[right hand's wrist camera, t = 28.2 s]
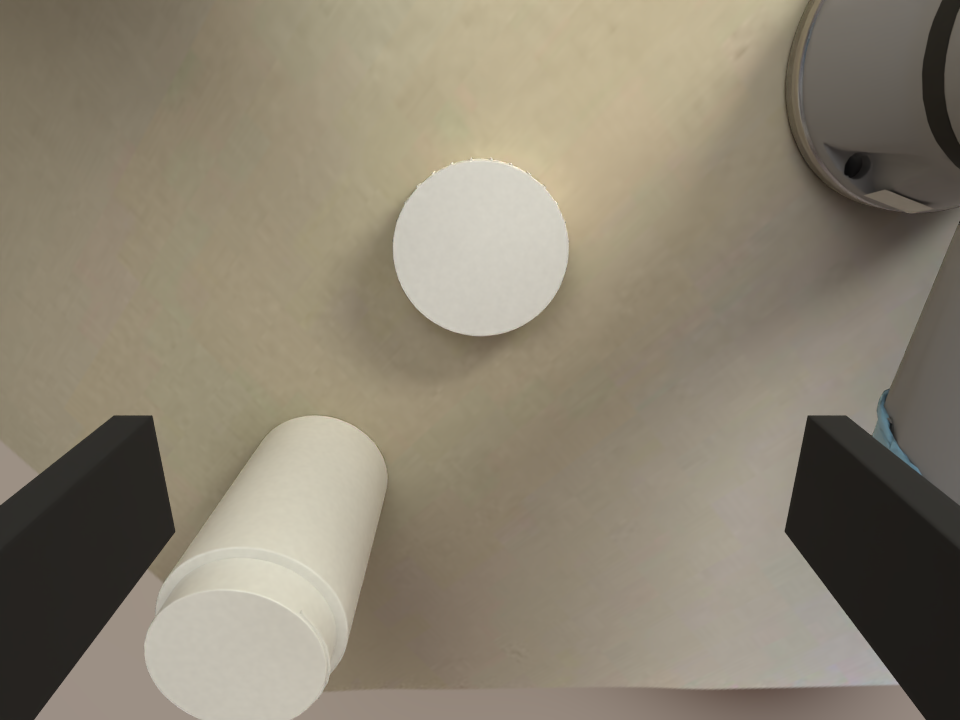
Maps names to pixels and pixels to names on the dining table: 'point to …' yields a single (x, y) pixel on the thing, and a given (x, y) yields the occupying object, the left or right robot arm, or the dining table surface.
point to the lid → (480, 247)
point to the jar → (271, 577)
